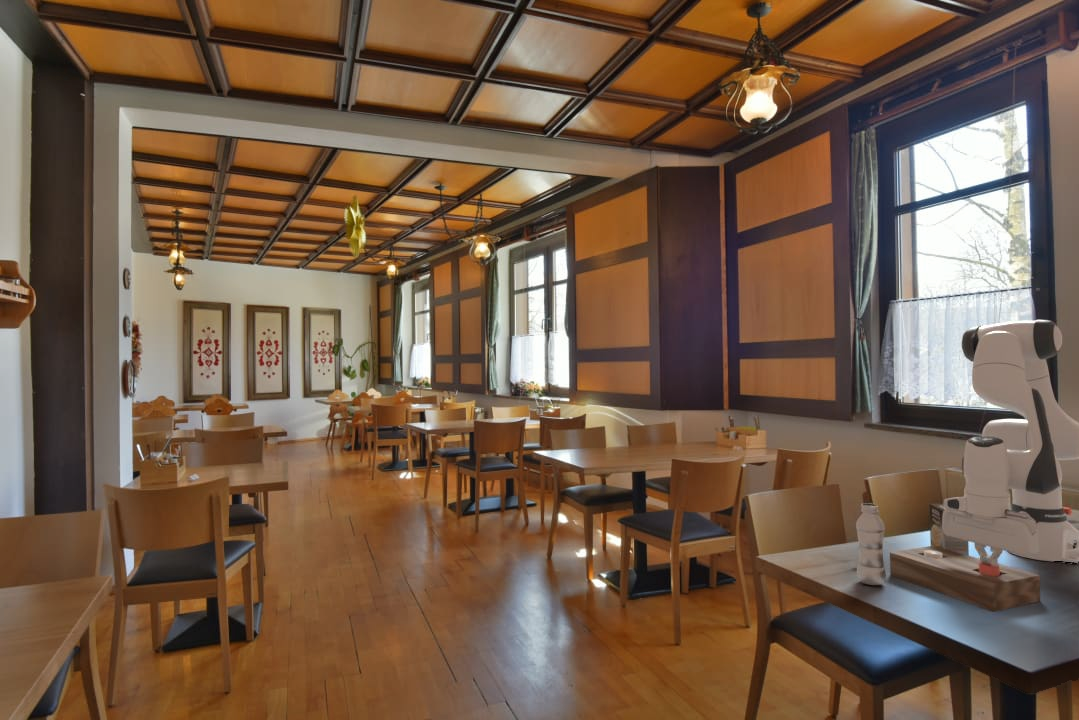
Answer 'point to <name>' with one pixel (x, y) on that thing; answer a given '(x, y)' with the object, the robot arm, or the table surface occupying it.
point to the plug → (933, 554)
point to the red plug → (989, 569)
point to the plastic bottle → (870, 546)
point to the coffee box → (939, 536)
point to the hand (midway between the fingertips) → (988, 564)
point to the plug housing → (966, 578)
